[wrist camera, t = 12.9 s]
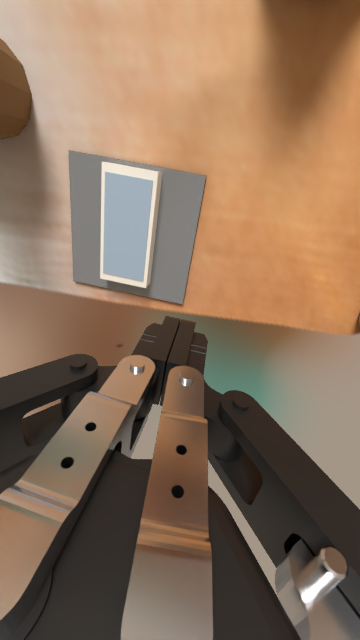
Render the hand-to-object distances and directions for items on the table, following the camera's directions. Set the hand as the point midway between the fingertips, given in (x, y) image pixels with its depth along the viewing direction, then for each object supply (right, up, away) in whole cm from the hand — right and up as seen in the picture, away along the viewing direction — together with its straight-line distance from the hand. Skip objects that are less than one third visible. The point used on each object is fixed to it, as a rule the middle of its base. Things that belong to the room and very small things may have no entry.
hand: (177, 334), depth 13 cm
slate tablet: (-8, +7, +27) cm, 29 cm away
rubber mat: (-7, +13, +25) cm, 29 cm away
